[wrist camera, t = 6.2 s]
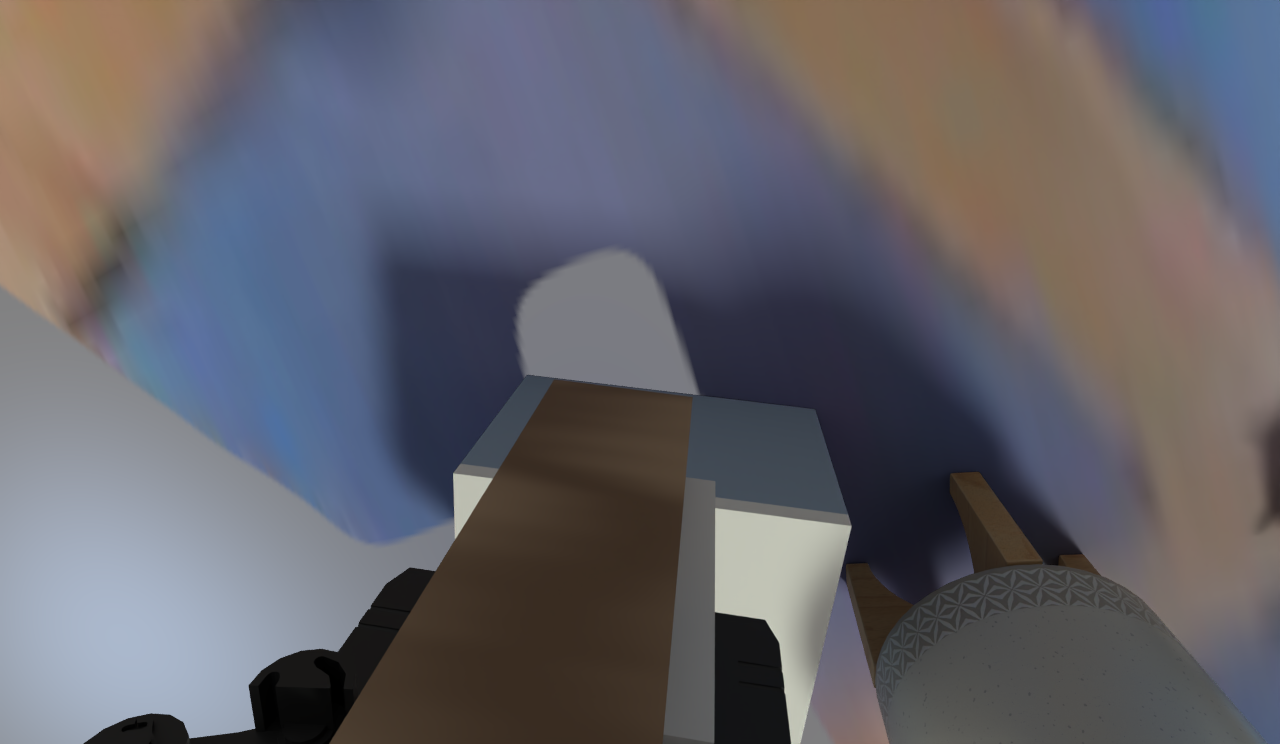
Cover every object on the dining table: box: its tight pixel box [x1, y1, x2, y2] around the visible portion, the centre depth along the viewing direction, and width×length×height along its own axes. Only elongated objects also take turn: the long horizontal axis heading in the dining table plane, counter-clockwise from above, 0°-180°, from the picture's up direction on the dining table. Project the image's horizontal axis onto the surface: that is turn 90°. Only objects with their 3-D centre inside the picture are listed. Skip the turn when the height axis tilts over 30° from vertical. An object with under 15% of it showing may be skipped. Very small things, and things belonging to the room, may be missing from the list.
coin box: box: [453, 375, 852, 744], centre depth 34 cm, size 14×16×11 cm
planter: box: [846, 472, 1268, 744], centre depth 30 cm, size 13×13×18 cm
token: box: [329, 379, 693, 744], centre depth 11 cm, size 3×6×9 cm, turn 174°
